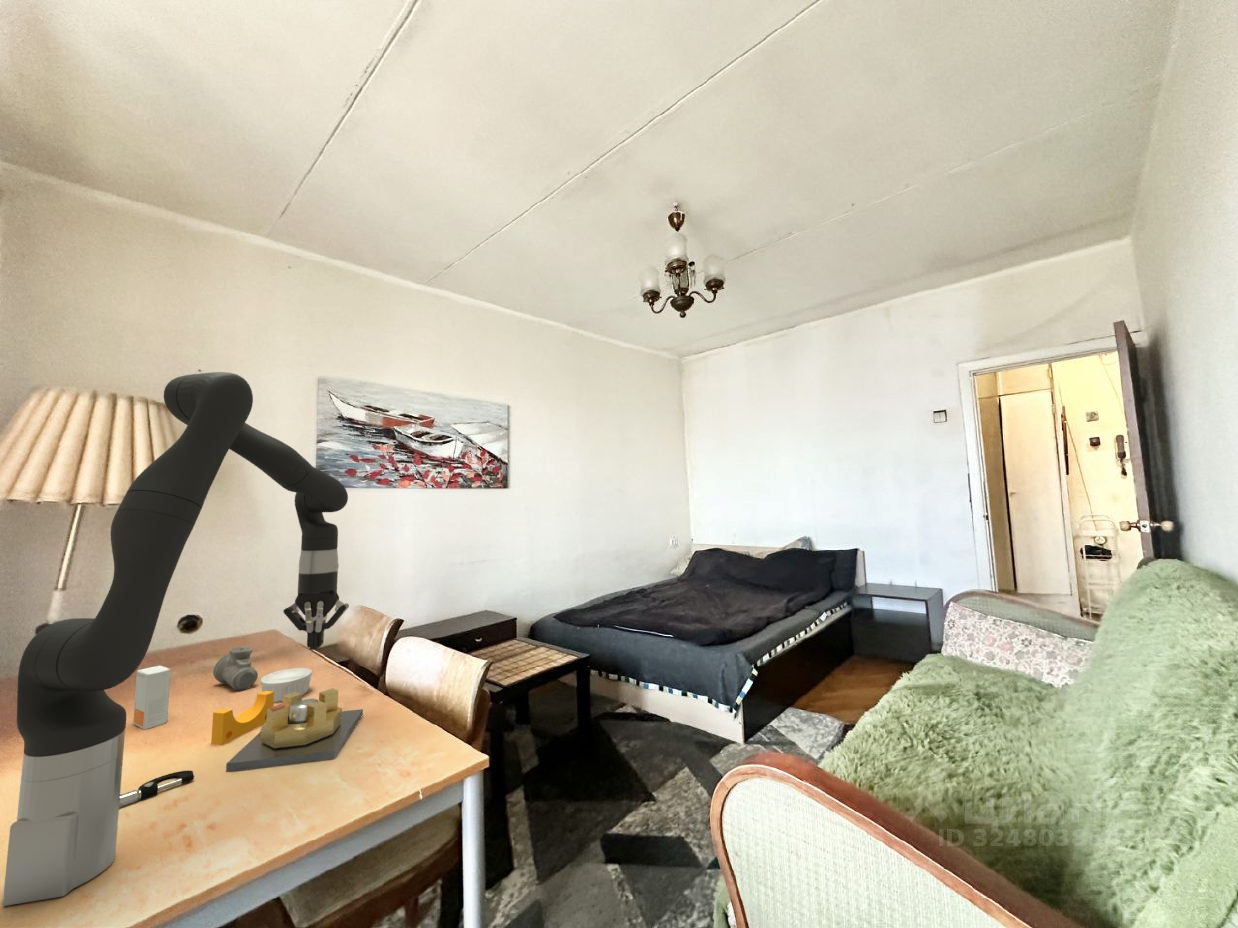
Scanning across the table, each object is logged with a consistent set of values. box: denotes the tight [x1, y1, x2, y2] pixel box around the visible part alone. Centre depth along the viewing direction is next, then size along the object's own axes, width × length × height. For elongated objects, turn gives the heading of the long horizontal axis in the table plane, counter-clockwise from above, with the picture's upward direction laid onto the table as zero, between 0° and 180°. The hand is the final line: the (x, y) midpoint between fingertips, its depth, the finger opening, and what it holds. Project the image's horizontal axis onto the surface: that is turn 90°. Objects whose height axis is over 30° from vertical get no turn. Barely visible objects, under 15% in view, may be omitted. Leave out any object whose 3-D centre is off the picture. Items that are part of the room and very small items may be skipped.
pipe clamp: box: [210, 691, 275, 746], centre depth 105 cm, size 12×4×6 cm, turn 170°
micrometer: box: [119, 770, 195, 809], centre depth 82 cm, size 15×7×2 cm, turn 142°
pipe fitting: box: [212, 645, 259, 691], centre depth 132 cm, size 12×8×10 cm
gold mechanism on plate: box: [225, 698, 364, 773], centre depth 101 cm, size 20×18×8 cm
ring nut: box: [261, 688, 343, 748], centre depth 101 cm, size 13×13×7 cm
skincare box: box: [132, 665, 172, 730], centre depth 110 cm, size 6×4×12 cm
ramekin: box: [260, 667, 313, 703], centre depth 125 cm, size 11×11×5 cm
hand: (315, 648), depth 107 cm, fingers closed
